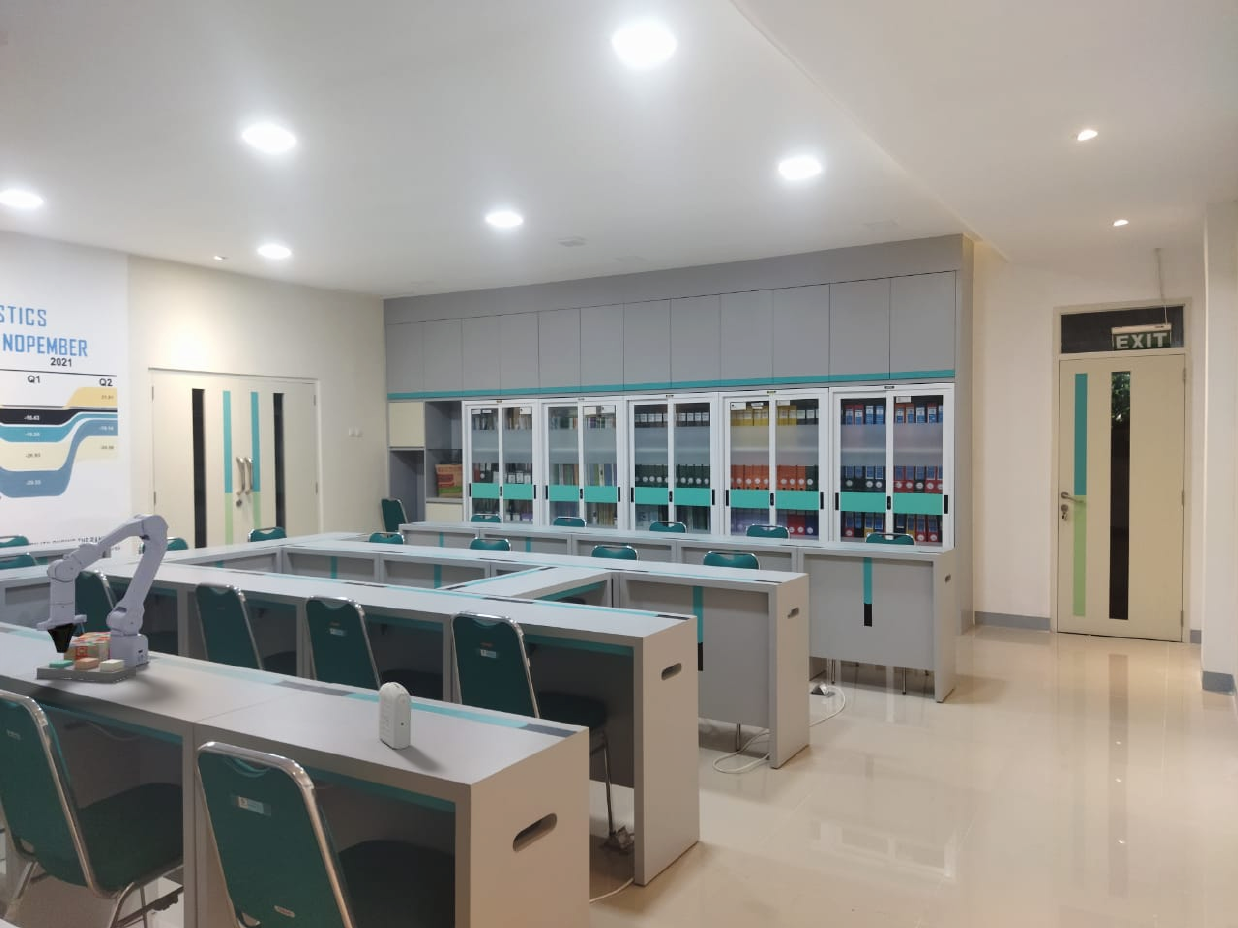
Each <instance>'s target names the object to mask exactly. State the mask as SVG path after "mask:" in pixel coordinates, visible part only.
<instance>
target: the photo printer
mask: <svg viewBox="0 0 1238 928" xmlns="http://www.w3.org/2000/svg"><path fill="white" fill-rule="evenodd" d="M378 696H379V698H378V700H379V701H378V738H379V739H381V741H383V742H384V743H385V744H387V745H388V746H389V747H390V748H392V749H395V750H403V749H407V748H408V747H410V745H411V740H412V739H411V735H412V732H411V731H412V699H411V695H410V693H409V692H408V690H407V689H406V688H405V687H404V686H403V685H401V684H400V683H398V682H387V683H383V684H382V686H381V687H380V689H379V695H378Z"/></svg>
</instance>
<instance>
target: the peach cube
mask: <svg viewBox="0 0 1238 928" xmlns="http://www.w3.org/2000/svg"><path fill="white" fill-rule="evenodd" d="M98 666H99V659H97V658H84V659H80V660H77V661H75V666H74V669H91V668H94V667H98Z"/></svg>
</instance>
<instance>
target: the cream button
mask: <svg viewBox="0 0 1238 928" xmlns="http://www.w3.org/2000/svg"><path fill="white" fill-rule="evenodd" d="M122 668H124V660H114V659H111V660H110V659H108V660H107V661H104V662H100V670H103V671H115V670H118V669H122Z"/></svg>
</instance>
